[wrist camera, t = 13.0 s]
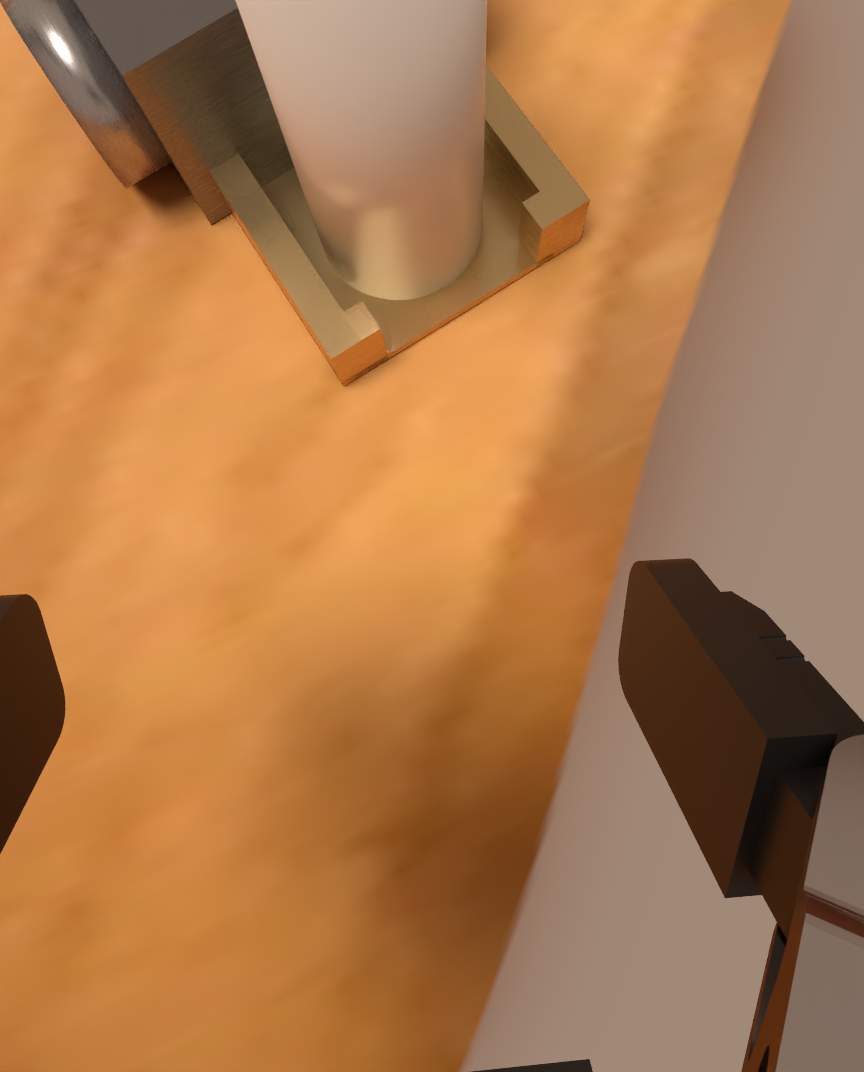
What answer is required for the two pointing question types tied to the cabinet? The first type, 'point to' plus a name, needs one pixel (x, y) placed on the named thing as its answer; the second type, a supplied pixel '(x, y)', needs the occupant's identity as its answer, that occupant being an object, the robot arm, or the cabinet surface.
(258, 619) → the cabinet surface
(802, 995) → the robot arm
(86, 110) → the gray box
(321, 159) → the cylinder
